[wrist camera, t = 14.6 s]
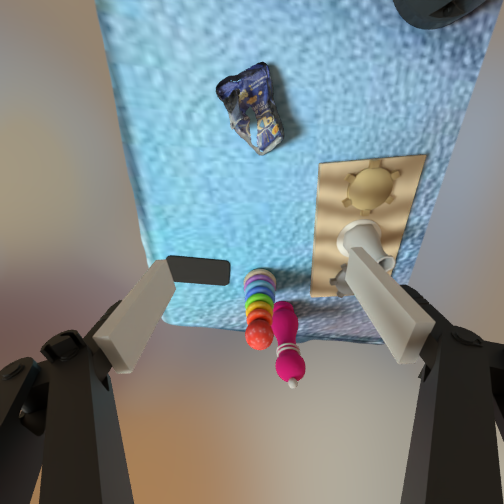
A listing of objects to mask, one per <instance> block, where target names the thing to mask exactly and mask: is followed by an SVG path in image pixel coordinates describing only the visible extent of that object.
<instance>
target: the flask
mask: <svg viewBox="0 0 504 504" xmlns="http://www.w3.org/2000/svg"><path fill="white" fill-rule="evenodd" d="M343 247H344V248H345V249H346V251H347V252H348V253H350V248H352V247H362V248H363V249H364V250H365V251H366V252H367V253H368V254H369V255H370V256H371V257H372V258H373V259H374V260H375V261H376V262H377V263H378V264H379V265H380V266H381V267H382V268H383V269H384V270H385V271H386V272H388V271H389V270H391V269H393V268H394V266H395V263H396V261H395V259H394V258H393V256H391V255H388V254H386V253H385V252H384V250H383V247H382V244H381V241H380V238H379V234H378V233H377V231H376V229H375V228H374V226H373V225H372V224H361V225H356V226H355V227H353V228H352V229H350V230H349V231H347V232H346V233H345V234H344V240H343Z"/></svg>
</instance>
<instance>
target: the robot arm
mask: <svg viewBox="0 0 504 504" xmlns="http://www.w3.org/2000/svg"><path fill="white" fill-rule="evenodd" d="M484 1H486V0H393V2H394V5H395V7H396V9H397V11H398V12H399V14H400V15H401V17H402V18H403V19H404V20H405V21H406V22H408V23H409V24H410V25H412V26H414V27H417V28H421V29H436V28H440V27H443V26H446V25H448V24H451V23H452V22H454V21H456V20H458V19H459V18H461V17H463V16H464V15H466V14H468V13H469V12H471V11H473V10H474V9H475V8H477V7H478V6H479V5H481V4H482V3H483V2H484ZM345 280H346V282H347V284H348V285H349V287H350V288H351V290H352V291H353V293H354V295H355V296H356V298H357V299H358V301H359V303H360V304H361V306H362V307H363V309H364V310H365V312H366V314H367V315H368V317H369V318H370V320H371V321H372V323H373V325H374V326H375V328H376V329H377V331H378V333H379V334H380V336H381V337H382V339H383V340H384V342H385V344H386V345H387V347H388V348H389V350H390V351H391V353H392V354H393V356H394V358H395V359H396V361H397V363H398V364H415V363H416V361H417V359H418V357H419V355H420V357H421V358H422V359H423V361H424V362H425V365H424V367H423V369H422V371H421V372H420V374H419V376H418V378H421V383H420V389H419V395H418V401H417V407H416V413H415V419H414V425H413V431H412V437H411V443H410V449H409V456H408V461H407V467H406V473H405V479H404V486H403V491H402V497H401V503H400V504H503V496H502V487H501V476H500V467H499V457H498V446H497V437H496V427H495V421H496V424H497V426H498V429H499V431H500V434H501V436H502V439H503V441H504V344H499V343H494V342H489V341H484V340H483V339H482V338H481V337H480V336H478V335H476V334H475V333H473V332H472V331H470V330H467V329H465V328H462V327H458V326H453V325H452V324H451V323H450V322H449V321H448V320H447V319H446V318H445V317H444V316H443V315H442V314H441V313H439V312H438V311H437V310H436V309H435V308H434V307H433V306H432V305H431V304H429V302H428V301H427V300H426V299H424V298H423V296H421V295H420V294H419V293H418V292H417V291H416V290H415V289H413V288H411V287H409V286H408V285H399V284H398V283H397V282H396V281H395V280H394V279H393V278H392V277H391V276H390V275H389V274H388V273H387V272H386V271H385V270H384V269H383V268H382V267H381V266H380V265H379V264H378V263H377V262H376V261H375V260H374V259H373V258H372V257H371V256H370V255H369V254H368V253H367V252H366V251H365V250H364V249H363V248H362V247H352V248H350V253H349V259H348V265H347V271H346V277H345ZM175 290H176V287H175V284H174V281H173V278H172V275H171V272H170V269H169V266H168V263H167V260H166V259H165V260H156V261H155V262H154V263H153V264H152V265H151V267H150V268H149V269H148V271H147V272H146V273H145V274H144V275H143V276H142V278H141V279H140V280H139V281H138V283H137V284H136V285H135V286H134V287H133V288H132V290H131V291H130V292H129V293H128V295H127V296H126V297H125V298H124V299H123V300H119V301H118V302H116V303H115V304H114V305H113V306H111V307H110V308H109V309H108V310H107V312H106V313H105V315H103V316H102V317H101V319H100V321H98V322H97V323H96V324H95V325H94V327H93V328H92V329H91V330H90V331H89V332H88V333H87V335H86V336H85V337H84V338H82V337H81V336H80V334H79V333H78V331H76V330H67V331H64V332H61V333H59V334H57V335H56V336H54V337H52V338H51V339H50V340H48V341H47V342H46V343H45V344H44V345H43V346H42V348H41V351H40V352H41V353H42V354H43V355H44V356H45V357H46V358H47V360H46V361H43V362H40V363H37V362H36V361H34V359H33V358H31V357H26V358H21V359H19V360H17V361H14V362H12V363H10V364H9V365H7V366H6V367H4V368H3V369H2V370H1V371H0V504H30V501H31V497H32V494H33V491H34V488H35V485H36V482H37V479H38V476H39V473H40V469H41V466H42V476H41V486H40V499H39V504H134V501H133V495H132V490H131V484H130V479H129V474H128V469H127V463H126V458H125V453H124V448H123V442H122V437H121V431H120V427H119V421H118V416H117V410H116V405H115V400H114V395H113V389H112V384H111V378H110V376H109V375H108V372H109V371H110V369H111V367H113V368H114V370H115V371H116V372H117V373H132V371H133V369H134V367H135V365H136V363H137V362H138V360H139V358H140V356H141V354H142V352H143V350H144V348H145V347H146V345H147V343H148V341H149V339H150V337H151V335H152V333H153V331H154V330H155V328H156V326H157V324H158V322H159V320H160V318H161V317H162V315H163V313H164V311H165V309H166V307H167V305H168V303H169V301H170V300H171V298H172V296H173V294H174V292H175ZM20 410H22V411H21V414H20ZM19 414H20V416H19Z"/></svg>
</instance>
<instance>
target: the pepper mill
mask: <svg viewBox="0 0 504 504" xmlns="http://www.w3.org/2000/svg"><path fill="white" fill-rule="evenodd" d="M272 319H273V323H272V325H271V327H272V329H273V333H274V335H275V336H276V338H277V341H278V348H277V357H278V358H277V360H276V371H277V373H278V375H279V377H280V378H281V379H282V380H284V381H286V382H288V385H289V387H290V388H293V389H294V388H296V387H297V385H298V382H297V381H299V380H300V379H301V378H302V377H303V376H304V374H305V362H304V360H303V358H302V357H301V356H300V351H299V350H300V349H299V347H298V346H297V345H296V341H295V339H296V334H297V330H298V318H297V316H296V315H295V314H294V309H293V306H292V305H291V304H290V303H288V302H286V301H279V302H276V303H274V308H273V316H272Z"/></svg>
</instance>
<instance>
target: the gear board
mask: <svg viewBox="0 0 504 504" xmlns="http://www.w3.org/2000/svg"><path fill="white" fill-rule="evenodd" d="M425 158H426V155H421V154H420V155H408V156H397V157H385V158H374V159H362V160H351V161H339V162H328V163H319V169H318V184H317V198H316V213H315V227H314V242H313V256H312V271H311V285H310V295H311V297H329V296H338V297H340V298H342V297H343V296H348V295H354V293H353V291H352V290H351V288H350V287H349V285H348V284H347V282H346V280H345V277H346V271H347V265H348V259H349V253H348V252H347V251H346V249H345V248H344V247H343V240H344V234H345V233H346V232H347V231H349V230H350V229H352V228H353V227H355V226H356V225H361V224H372V225H373V226H374V228H375V229H376V231H377V233H378V234H379V238H380V241H381V244H382V247H383V250H384V252H385V253H386V254H388V255H391V256H393V258H394V259H396V256H397V253H398V249H399V246H400V242H401V239H402V236H403V232H404V229H405V226H406V222H407V219H408V216H409V212H410V209H411V206H412V202H413V199H414V195H415V192H416V189H417V185H418V182H419V179H420V175H421V172H422V169H423V165H424V162H425ZM387 273H388V274H389V275H390V276H391V273H392V269H391V270H389V271H388V272H387Z"/></svg>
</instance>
